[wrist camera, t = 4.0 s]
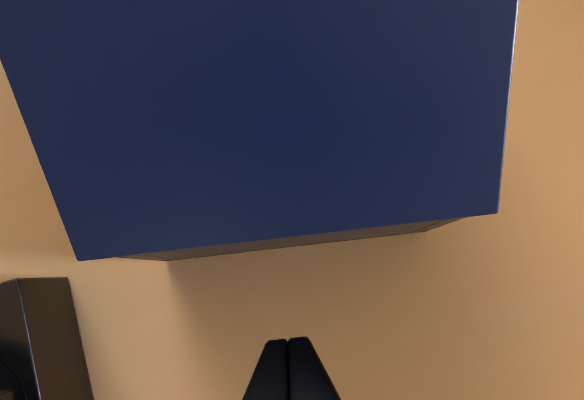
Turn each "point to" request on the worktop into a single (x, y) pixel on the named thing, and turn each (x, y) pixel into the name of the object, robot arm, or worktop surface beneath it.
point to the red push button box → (41, 342)
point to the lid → (259, 115)
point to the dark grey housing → (293, 241)
